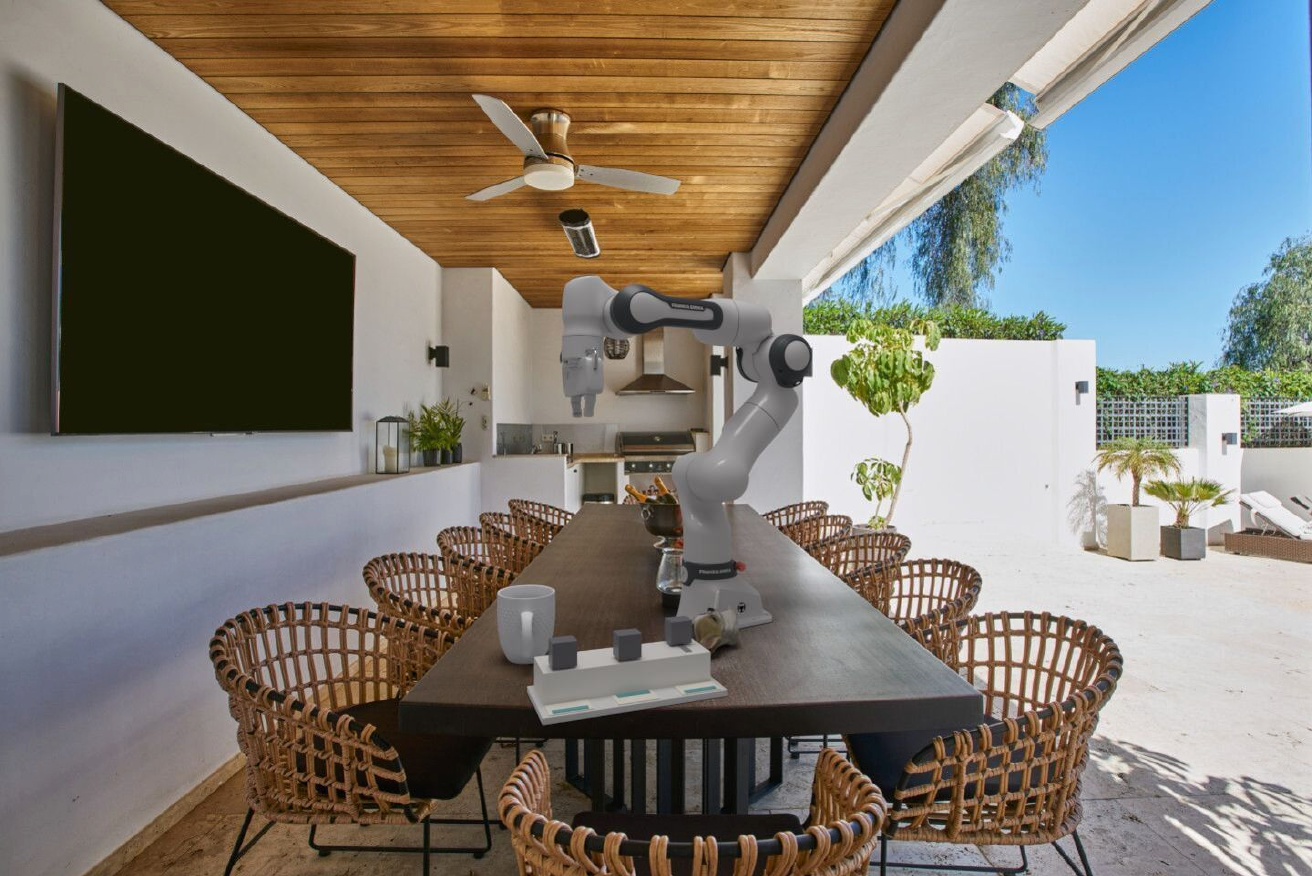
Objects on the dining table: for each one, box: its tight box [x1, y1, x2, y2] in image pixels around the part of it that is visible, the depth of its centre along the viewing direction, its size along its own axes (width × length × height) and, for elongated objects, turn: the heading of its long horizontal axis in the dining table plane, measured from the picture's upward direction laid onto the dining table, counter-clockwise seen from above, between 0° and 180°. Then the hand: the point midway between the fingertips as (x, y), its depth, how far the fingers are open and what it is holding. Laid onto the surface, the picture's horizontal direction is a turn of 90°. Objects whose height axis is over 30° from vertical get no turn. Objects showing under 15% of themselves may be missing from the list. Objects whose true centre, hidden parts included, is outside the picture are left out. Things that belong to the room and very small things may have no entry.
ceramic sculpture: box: [692, 608, 740, 655], centre depth 132 cm, size 11×9×15 cm
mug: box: [496, 584, 556, 665], centre depth 123 cm, size 15×11×13 cm
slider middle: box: [612, 627, 643, 660], centre depth 109 cm, size 4×3×4 cm
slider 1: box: [547, 634, 578, 669], centre depth 105 cm, size 4×3×4 cm
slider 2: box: [664, 616, 692, 645], centre depth 116 cm, size 4×3×4 cm
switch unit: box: [526, 639, 729, 726], centre depth 109 cm, size 31×13×6 cm, turn 111°
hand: (582, 417), depth 138 cm, fingers open, 8 cm apart
